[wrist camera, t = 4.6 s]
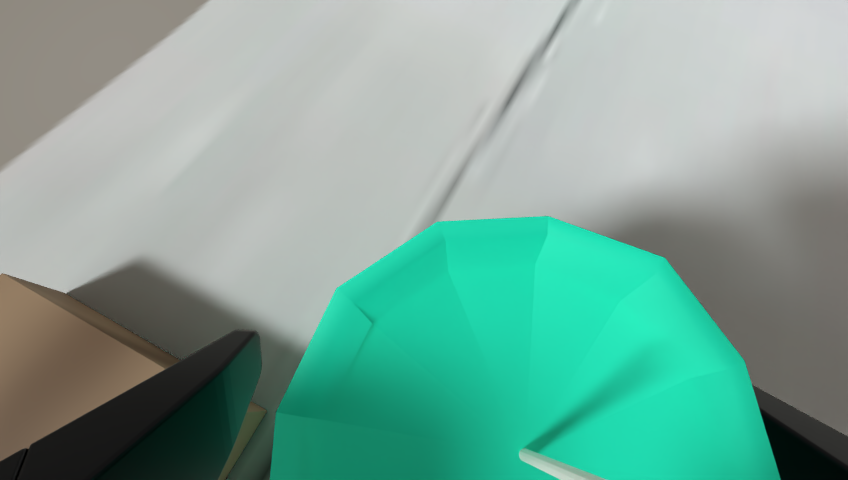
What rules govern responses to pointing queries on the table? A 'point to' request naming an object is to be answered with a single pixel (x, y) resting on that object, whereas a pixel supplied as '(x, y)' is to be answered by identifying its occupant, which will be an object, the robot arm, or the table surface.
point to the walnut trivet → (70, 365)
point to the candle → (519, 367)
